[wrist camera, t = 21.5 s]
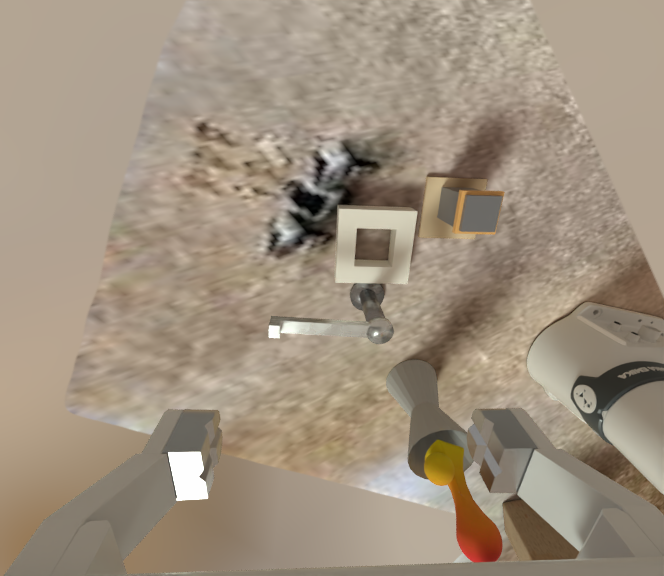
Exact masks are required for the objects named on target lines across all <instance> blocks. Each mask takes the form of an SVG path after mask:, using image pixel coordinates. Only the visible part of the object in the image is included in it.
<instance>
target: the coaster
mask: <svg viewBox="0 0 664 576" xmlns="http://www.w3.org/2000/svg"><path fill="white" fill-rule="evenodd" d="M487 180H488V179H471V178H446V177H427V178H426V184H425V191H424V198H423V205H422V212H421V219H420V226H419V233H418V237H420V238H455V239H475V236H476V234H455V233H453V232H452V230H453V227H452V226H451V225H449V224H447V223H445V222H444V221H442V220H440V219H439V218H437V215H438V208H439V202H440V195H441V189H442V187H459V188H474V189H478V190H481V191H485V190H486V185H487Z"/></svg>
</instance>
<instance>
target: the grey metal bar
mask: <svg viewBox="0 0 664 576" xmlns="http://www.w3.org/2000/svg"><path fill="white" fill-rule="evenodd" d="M280 333H293V334H311V335H329V336H347V337H365V338H368V339H369V340H370V341H371V342H373V343H376V344H383V343H386V342H387V341H389V340H390V339H391V338H392V336H393V333H394V330H393V327H392V324H391V322H390V321H389V320H388V319H387V318H385V317H375V318H373V319H371V320H370V321H369V322H363V321H346V320H329V319H312V318H295V317H278V316H271V319H270V323H269V338H279V337H280Z"/></svg>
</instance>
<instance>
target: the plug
mask: <svg viewBox="0 0 664 576" xmlns="http://www.w3.org/2000/svg"><path fill="white" fill-rule="evenodd" d="M503 196H504V192H503V191H481V190H478V189H474V188H459V187H442V189H441V195H440V202H439V208H438V215H437V218H439V219H440V220H442V221H444V222H445V223H447V224H449V225H451V226H452V227H453V230H452V232H453V233H455V234H495V232H496V227H497V223H498V219H499V214H500V210H501V205H502V201H503Z"/></svg>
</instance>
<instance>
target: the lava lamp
mask: <svg viewBox="0 0 664 576" xmlns="http://www.w3.org/2000/svg"><path fill="white" fill-rule="evenodd" d="M386 386H387V389H388V391H389V393H390V394H391V395H392V396H393V397H394V398H395V400H396V401H397V402H398V403H399V404H400V406H401V407H402V408H403V409H404V410H405V411H406V413H407V414H408V415H409V416H410V417H411V422H410V435H409V448H408V464H409V466H410V469H411V470H412V471H413V472H414V473H415V474H416V475H418V476H420V477H422V478H424V479H429V480H430V481H431V482H432V483H434V484H436V485H440V486H444V485H447V484H448V486H449V488H450V490H451V493H452V496H453V499H454V503H455V509H456V527H457V528H456V531H457V532H456V533H457V534H456V535H457V541H458V543H459V546H460V548H461V550H462V552H463V553H464V554H465V555H466V557H468V558H469V559H470V560H471V561H473V562H495V561H497V559H498V558H499V557H500V555H501V552H502V538H501V535H500V532H499V530H498V528H497V527H496V525H495V524H494V523H493V522H492V521H491V520H490V519H489V518H488V517H487V516H486V515H485V514H484V513H483V512H482V510H481V509H480V508H479V506H478V505H477V504H476V503H475V501H474V500H473V498H472V496H471V494H470V491H469V489H468V487H467V485H466V481H465V476H464V471H465V470H466V469H468V468H469V467H470V466H471V465H472V463H473V461H474V460H473V459H472V457H471V455H470V453H469V450H468V446H467V432H466V431H465V430H464V429H462V428H461V427H460V426H459V425H458V424H457V423H456V422H454V421H453V420H452V419H451V418H450V417H449V416H448V415H447V414H445V413H444V412H443V411H442V410H441V409H440V408H439V404H438V388H437V375H436V372H435V369H434V368H433V367H432V366H431V365H430V364H428V363H427V362H425V361H421V360H408V361H405V362H402V363H400V364H398V365H397V366H395V367H394V368H393V369H392V370H391V371H390V372H389V375H388V377H387V381H386Z"/></svg>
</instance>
